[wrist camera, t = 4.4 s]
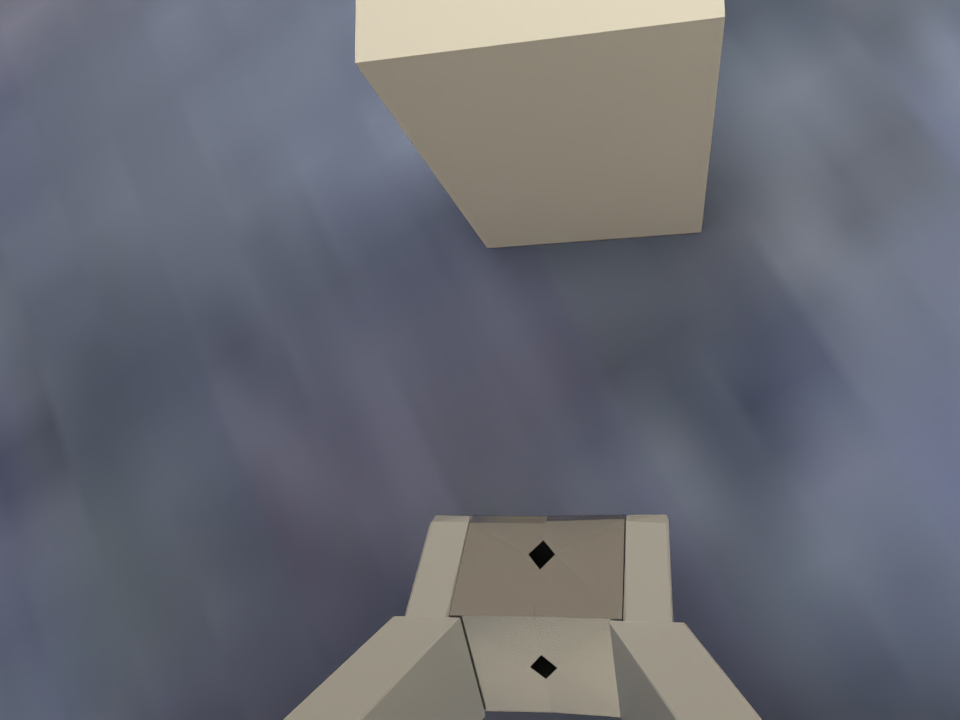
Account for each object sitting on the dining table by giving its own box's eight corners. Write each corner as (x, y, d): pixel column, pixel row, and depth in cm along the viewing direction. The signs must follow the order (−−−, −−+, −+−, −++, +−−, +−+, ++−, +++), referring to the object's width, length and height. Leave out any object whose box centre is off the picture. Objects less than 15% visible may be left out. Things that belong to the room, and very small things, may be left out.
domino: (701, 232, 20) (724, 16, 11) (487, 248, 21) (355, 62, 12) (697, 166, 20) (718, -96, 11) (486, 184, 21) (356, -41, 12)
